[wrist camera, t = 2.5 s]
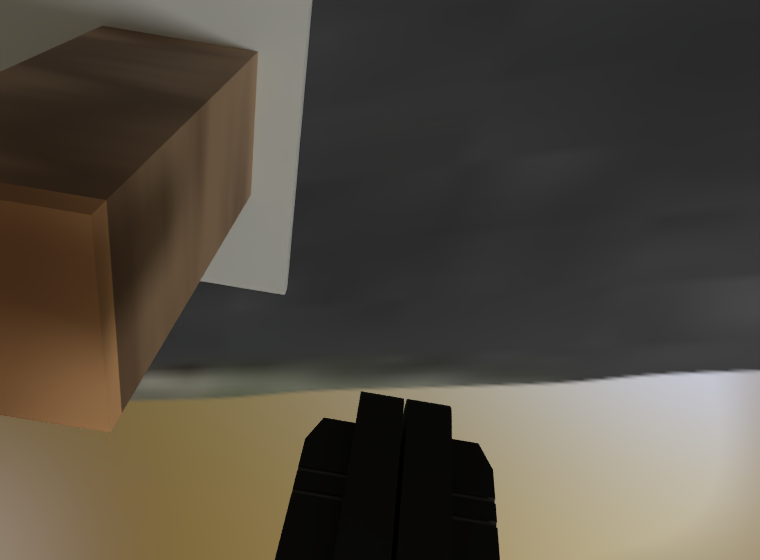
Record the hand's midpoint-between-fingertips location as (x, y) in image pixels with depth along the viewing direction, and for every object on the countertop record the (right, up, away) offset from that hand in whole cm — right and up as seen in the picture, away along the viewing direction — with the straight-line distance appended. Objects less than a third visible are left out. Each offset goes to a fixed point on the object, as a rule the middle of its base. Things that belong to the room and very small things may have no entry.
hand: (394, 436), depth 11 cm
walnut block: (-7, +8, +11) cm, 16 cm away
